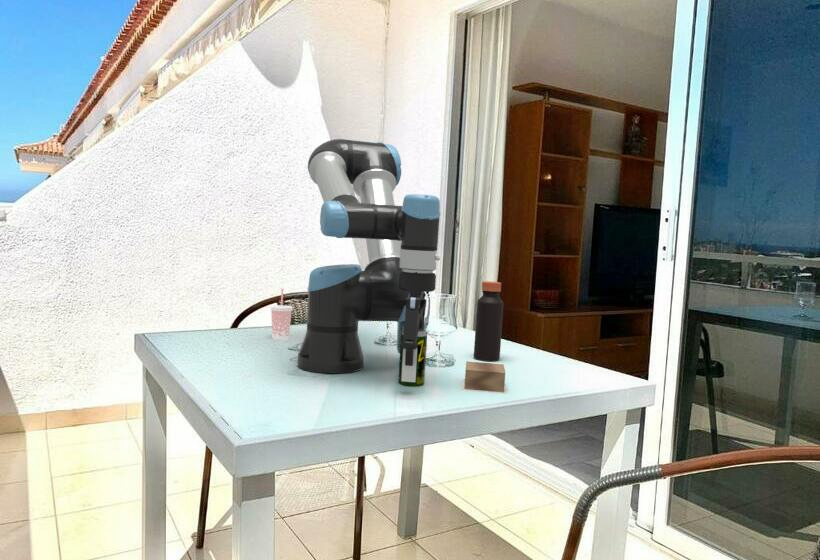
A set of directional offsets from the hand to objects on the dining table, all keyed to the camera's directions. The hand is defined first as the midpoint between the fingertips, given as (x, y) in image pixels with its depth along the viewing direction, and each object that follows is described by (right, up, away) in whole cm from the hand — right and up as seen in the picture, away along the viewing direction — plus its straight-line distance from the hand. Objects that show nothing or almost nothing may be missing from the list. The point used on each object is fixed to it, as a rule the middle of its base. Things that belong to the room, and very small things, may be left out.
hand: (412, 373), depth 125 cm
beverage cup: (-37, +3, +44) cm, 57 cm away
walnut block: (+15, -3, +2) cm, 15 cm away
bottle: (+19, -1, +32) cm, 38 cm away
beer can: (0, -3, 0) cm, 3 cm away
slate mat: (+12, -3, +2) cm, 13 cm away
